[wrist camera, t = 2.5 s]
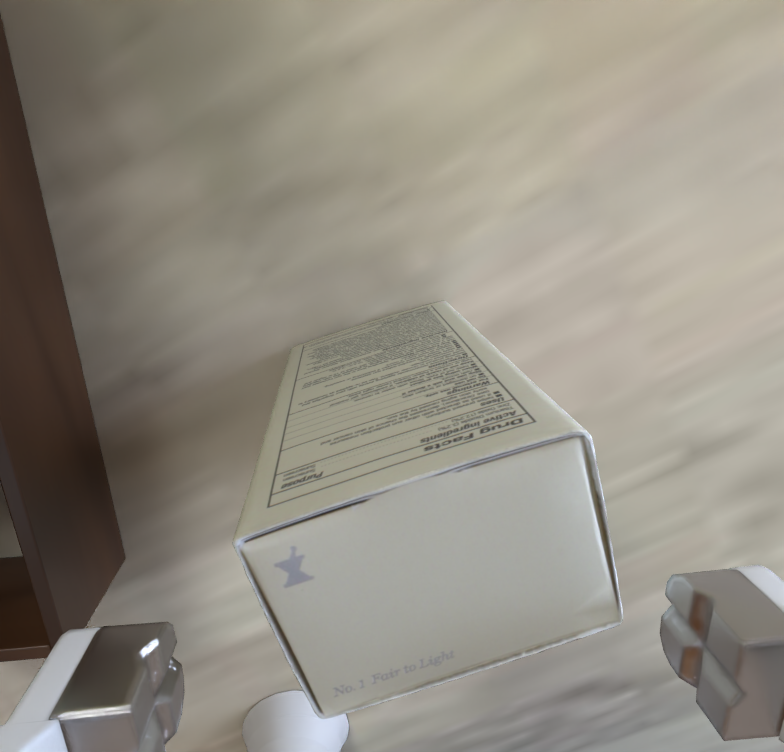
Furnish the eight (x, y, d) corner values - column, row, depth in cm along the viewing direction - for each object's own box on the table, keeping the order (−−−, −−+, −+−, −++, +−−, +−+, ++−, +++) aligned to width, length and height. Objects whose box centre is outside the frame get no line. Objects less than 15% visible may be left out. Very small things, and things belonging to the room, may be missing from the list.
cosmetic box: (326, 444, 22) (306, 734, 10) (287, 340, 20) (213, 543, 9) (479, 397, 22) (633, 637, 10) (451, 290, 20) (595, 427, 9)
